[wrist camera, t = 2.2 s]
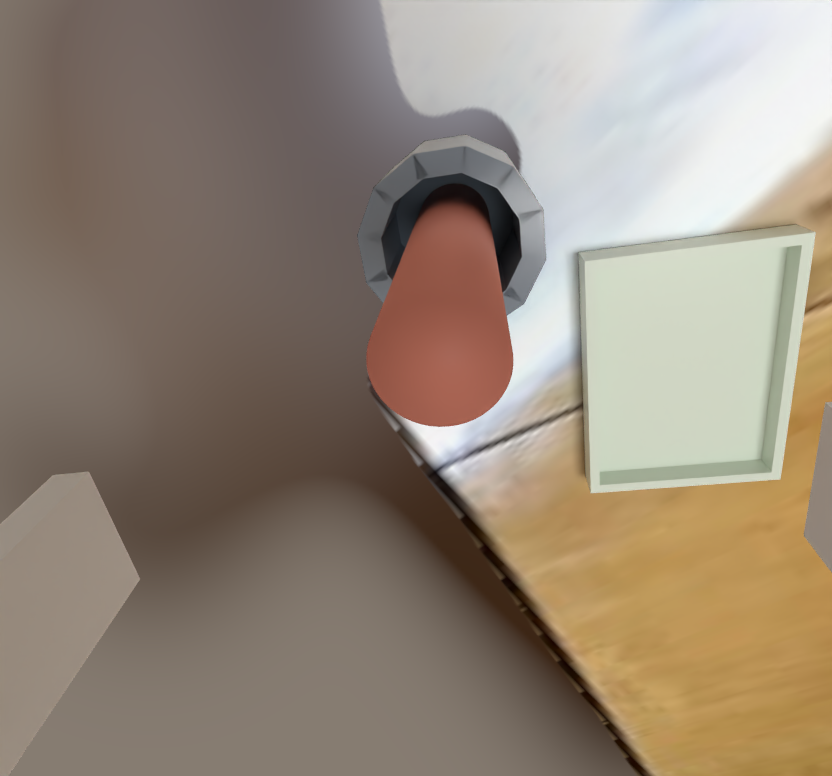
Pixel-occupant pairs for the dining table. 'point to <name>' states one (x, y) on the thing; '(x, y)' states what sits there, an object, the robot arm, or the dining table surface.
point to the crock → (463, 164)
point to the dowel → (444, 317)
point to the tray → (691, 357)
